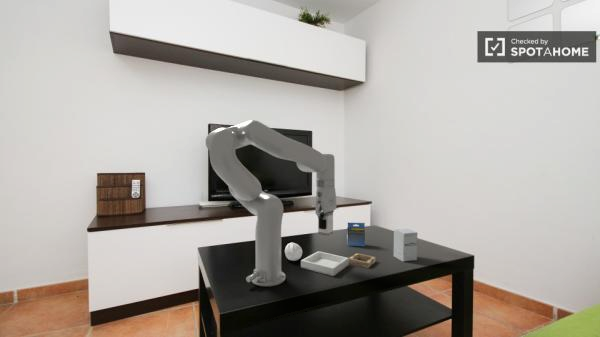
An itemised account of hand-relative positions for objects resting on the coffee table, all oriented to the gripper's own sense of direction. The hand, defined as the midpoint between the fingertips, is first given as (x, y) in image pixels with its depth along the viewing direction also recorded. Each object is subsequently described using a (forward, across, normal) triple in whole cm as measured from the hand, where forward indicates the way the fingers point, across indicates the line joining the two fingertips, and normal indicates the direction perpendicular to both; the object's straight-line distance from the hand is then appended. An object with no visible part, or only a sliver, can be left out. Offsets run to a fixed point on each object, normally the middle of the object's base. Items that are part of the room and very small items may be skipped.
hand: (325, 227), depth 113 cm
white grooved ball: (+17, -2, +15) cm, 23 cm away
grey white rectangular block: (+3, 0, 0) cm, 3 cm away
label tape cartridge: (+17, +34, +1) cm, 38 cm away
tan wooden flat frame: (+17, +13, -11) cm, 24 cm away
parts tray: (+16, 0, 0) cm, 16 cm away
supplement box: (+17, +29, -25) cm, 42 cm away
